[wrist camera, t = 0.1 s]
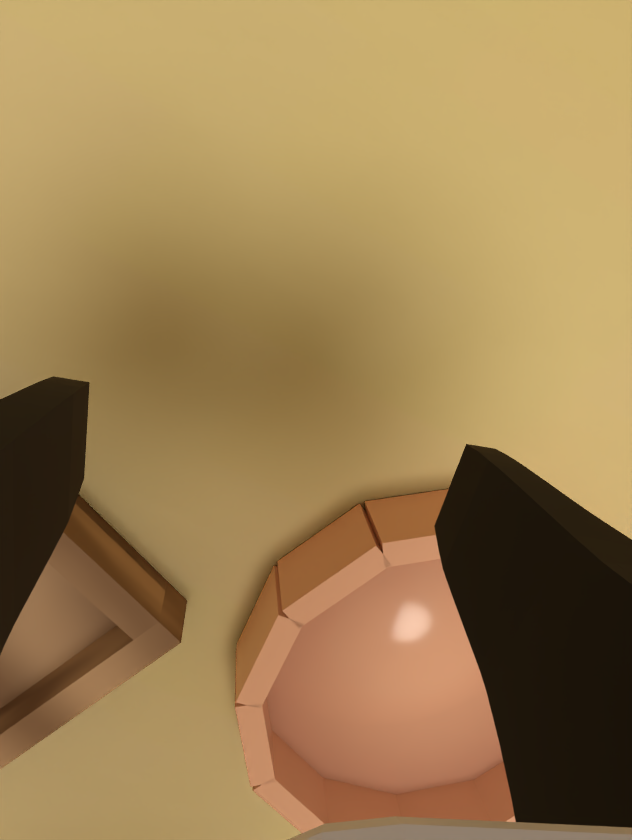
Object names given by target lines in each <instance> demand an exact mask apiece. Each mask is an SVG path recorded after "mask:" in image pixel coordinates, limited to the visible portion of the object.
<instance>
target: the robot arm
mask: <svg viewBox="0 0 632 840" xmlns="http://www.w3.org/2000/svg"><path fill="white" fill-rule="evenodd" d="M88 398H89V382H83V381H77V380H71V379H65V378H59V377H51V378H48V379H45V380H43V381H40V382H38V383H36V384H33V385H31V386H29V387H27V388H24V389H22V390H20V391H18V392H16V393H14V394H11V395H9V396H7V397H5V398H3V399H0V655H1V652H2V650H3V648H4V645H5V643H6V641H7V639H8V637H9V635H10V633H11V631H12V629H13V626H14V624H15V622H16V621H17V619H18V617H19V615H20V613H21V611H22V609H23V607H24V606H25V604H26V602H27V600H28V598H29V596H30V594H31V592H32V590H33V589H34V587H35V585H36V583H37V581H38V579H39V577H40V575H41V574H42V572H43V570H44V568H45V566H46V564H47V562H48V560H49V559H50V557H51V555H52V553H53V551H54V549H55V547H56V545H57V543H58V541H59V539H60V538H61V536H62V534H63V532H64V530H65V528H66V526H67V524H68V522H69V519H70V516H71V514H72V511H73V508H74V505H75V503H76V500H77V497H78V494H79V491H80V488H81V485H82V482H83V480H84V470H85V452H86V434H87V416H88ZM434 527H435V533H436V538H437V544H438V549H439V554H440V559H441V563H442V568H443V571H444V574H445V577H446V580H447V583H448V586H449V588H450V591H451V594H452V597H453V600H454V602H455V605H456V608H457V610H458V613H459V616H460V619H461V621H462V624H463V627H464V629H465V632H466V635H467V637H468V640H469V643H470V646H471V648H472V651H473V654H474V656H475V659H476V662H477V664H478V667H479V670H480V673H481V676H482V679H483V683H484V686H485V689H486V692H487V696H488V700H489V704H490V708H491V712H492V716H493V720H494V724H495V728H496V732H497V736H498V740H499V744H500V749H501V753H502V758H503V762H504V767H505V771H506V776H507V781H508V785H509V790H510V794H511V799H512V804H513V810H514V815H515V821H516V822H502V821H482V820H461V819H440V818H419V817H398V816H394V817H384V818H374V819H365V820H355V821H346V822H336V823H326V824H323V825H320V826H318V827H316V828H313V829H311V830H309V831H307V832H304V833H302V834H300V835H297V836H295V837H293V838H290V839H288V840H632V540H631V539H630V538H628V537H627V536H625V535H624V534H622V533H620V532H619V531H617V530H616V529H614V528H613V527H611V526H610V525H608V524H607V523H605V522H603V521H602V520H600V519H599V518H597V517H596V516H595V515H593V514H592V513H590V512H589V511H587V510H586V509H584V508H583V507H581V506H580V505H578V504H577V503H576V502H574V501H573V500H571V499H570V498H569V497H567V496H566V495H564V494H563V493H561V492H560V491H559V490H557V489H556V488H554V487H553V486H552V485H550V484H549V483H547V482H546V481H545V480H543V479H542V478H540V477H539V476H538V475H536V474H535V473H533V472H532V471H530V470H529V469H528V468H526V467H525V466H523V465H522V464H520V463H519V462H517V461H516V460H514V459H512V458H511V457H509V456H507V455H506V454H504V453H502V452H500V451H498V450H496V449H493V448H487V447H481V446H475V445H468V444H466V446H465V449H464V451H463V454H462V457H461V459H460V462H459V464H458V467H457V469H456V472H455V474H454V477H453V479H452V482H451V485H450V487H449V490H448V492H447V495H446V497H445V500H444V502H443V505H442V507H441V510H440V513H439V515H438V518H437V520H436V523H435V525H434Z"/></svg>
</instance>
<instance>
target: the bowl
mask: <svg viewBox="0 0 632 840" xmlns="http://www.w3.org/2000/svg"><path fill="white" fill-rule="evenodd" d="M448 490H449V489H445V490H438V491H431V492H425V493H418V494H411V495H404V496H398V497H391V498H384V499H378V500H371V501H365V510H366V511H365V510H364V509H363V508H362V506H361V505H360V504H358V505H357V506H355V507H354V508H352V509H351V510H350V511H348V512H347V513H345V514H344V515H342V516H341V517H340V518H338V519H337V520H335V521H334V522H333V523H331V524H330V525H328V526H327V527H325V528H324V529H323V530H321V531H320V532H318V533H317V534H315V535H314V536H313V537H311V538H310V539H308V540H307V541H306V542H304V543H303V544H301V545H300V546H298V547H297V548H296V549H294V550H293V551H291V552H290V553H288V554H287V555H286V556H284V557H283V558H281V559H280V560H279V561H277V562H278V567H277V566H273V568H272V570H271V573H270V575H269V577H268V579H267V581H266V583H265V585H264V587H263V589H262V592H261V594H260V596H259V598H258V600H257V602H256V604H255V606H254V609H253V611H252V613H251V615H250V617H249V619H248V621H247V623H246V625H245V628H244V630H243V632H242V634H241V636H240V638H239V640H238V642H237V649H236V680H235V710H236V715H237V720H238V725H239V730H240V735H241V740H242V746H243V751H244V756H245V761H246V766H247V771H248V776H249V782H250V787H252V786H253V791H254V792H255V793H256V794H257V795H259V796H260V797H261V798H262V799H263V800H264V801H265V802H267V803H268V804H269V805H270V806H271V807H272V808H274V809H275V810H276V811H277V812H278V813H279V814H280V815H282V816H283V817H284V818H285V819H286V820H287V821H289V822H290V823H291V824H292V825H293V826H294V827H295V828H297V829H298V830H299V831H300V832H301V833H304V832H307V831H309V830H311V829H313V828H316V827H318V826H320V825H323V824H326V823H336V822H346V821H355V820H365V819H374V818H384V817H394V816H398V817H419V818H440V819H461V820H482V821H502V822H516V821H515V815H514V810H513V804H512V799H511V794H510V790H509V785H508V781H507V776H506V771H505V767H504V762H503V758H502V753H501V749H500V744H499V740H498V736H497V732H496V728H495V724H494V720H493V716H492V712H491V708H490V704H489V700H488V696H487V692H486V689H485V686H484V683H483V679H482V676H481V673H480V670H479V667H478V664H477V662H476V659H475V656H474V654H473V651H472V648H471V646H470V643H469V640H468V637H467V635H466V632H465V629H464V627H463V624H462V621H461V619H460V616H459V613H458V610H457V608H456V605H455V602H454V600H453V597H452V594H451V591H450V588H449V586H448V583H447V580H446V577H445V574H444V571H443V568H442V563H441V559H440V554H439V549H438V544H437V538H436V533H435V527H434V525H435V523H436V520H437V518H438V515H439V513H440V510H441V507H442V505H443V502H444V500H445V497H446V495H447V492H448Z"/></svg>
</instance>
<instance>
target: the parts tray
mask: <svg viewBox="0 0 632 840" xmlns="http://www.w3.org/2000/svg"><path fill="white" fill-rule="evenodd" d="M186 604H187V601H186V600H185V599H184V598H183V597H182V596H181V595H180V594H179V593H178V592H177V591H176V590H175V589H174V588H173V587H172V586H171V585H170V584H169V583H168V582H167V581H166V580H165V579H164V578H163V577H162V576H161V575H160V574H159V573H158V572H157V571H156V570H155V569H154V568H153V567H152V566H151V565H150V564H149V563H148V562H147V561H146V560H144V559H143V558H142V557H141V556H140V555H139V554H138V553H137V552H136V551H135V550H134V549H133V548H132V547H131V546H130V545H129V544H128V543H127V542H126V541H125V540H124V539H123V538H122V537H121V536H120V535H119V534H118V533H117V532H116V531H115V530H114V529H113V528H112V527H111V526H110V525H109V524H108V523H107V522H106V521H105V520H104V519H103V518H102V517H101V516H99V515H98V514H97V513H96V512H95V511H94V510H93V509H92V508H91V507H90V506H89V505H88V504H87V503H86V502H85V501H84V500H83V499H82V498H81V497H80V496H79V495H78V497H77V500H76V503H75V505H74V508H73V511H72V514H71V516H70V519H69V522H68V524H67V526H66V528H65V530H64V532H63V534H62V536H61V538H60V539H59V541H58V543H57V545H56V547H55V549H54V551H53V553H52V555H51V557H50V559H49V560H48V562H47V564H46V566H45V568H44V570H43V572H42V574H41V575H40V577H39V579H38V581H37V583H36V585H35V587H34V589H33V590H32V592H31V594H30V596H29V598H28V600H27V602H26V604H25V606H24V607H23V609H22V611H21V613H20V615H19V617H18V619H17V621H16V622H15V624H14V626H13V629H12V631H11V633H10V635H9V637H8V639H7V641H6V643H5V645H4V648H3V650H2V652H1V655H0V769H1V768H3V767H4V766H5V765H7V764H8V763H10V762H11V761H13V760H14V759H15V758H17V757H18V756H20V755H21V754H23V753H24V752H25V751H27V750H28V749H30V748H31V747H33V746H34V745H35V744H37V743H38V742H40V741H41V740H43V739H44V738H45V737H47V736H48V735H50V734H51V733H53V732H54V731H55V730H57V729H58V728H60V727H61V726H63V725H64V724H65V723H67V722H68V721H70V720H71V719H73V718H74V717H75V716H77V715H78V714H80V713H81V712H82V711H84V710H85V709H87V708H88V707H90V706H91V705H92V704H94V703H95V702H97V701H98V700H100V699H101V698H102V697H104V696H105V695H107V694H108V693H110V692H111V691H112V690H114V689H115V688H117V687H118V686H120V685H121V684H122V683H124V682H125V681H127V680H128V679H130V678H131V677H132V676H134V675H135V674H137V673H138V672H140V671H141V670H142V669H144V668H145V667H147V666H148V665H150V664H151V663H152V662H154V661H155V660H157V659H158V658H160V657H161V656H162V655H164V654H165V653H167V652H168V651H169V650H171V649H172V648H174V647H175V646H177V645H178V644H179V643H181V638H182V631H183V624H184V618H185V611H186Z"/></svg>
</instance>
